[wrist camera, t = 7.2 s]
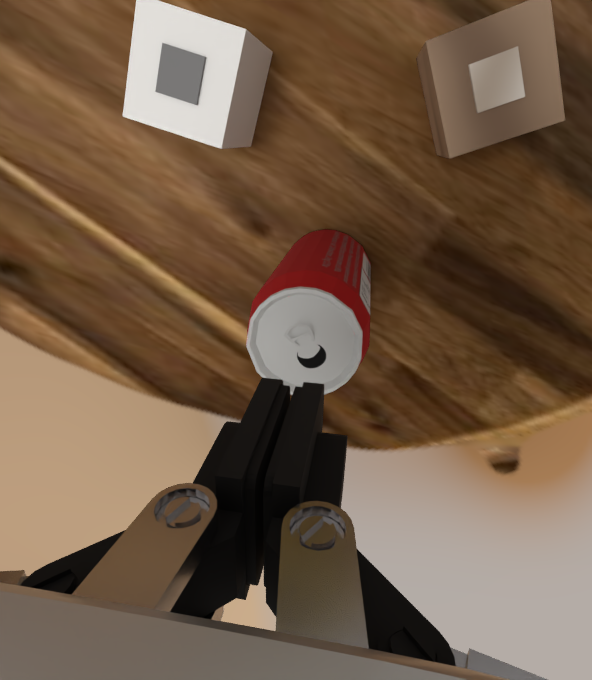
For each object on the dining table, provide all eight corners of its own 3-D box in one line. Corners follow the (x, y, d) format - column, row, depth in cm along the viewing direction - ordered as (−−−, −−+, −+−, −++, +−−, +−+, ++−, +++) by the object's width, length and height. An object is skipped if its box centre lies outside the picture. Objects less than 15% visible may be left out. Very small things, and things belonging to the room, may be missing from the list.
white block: (273, 52, 26) (244, 28, 20) (251, 146, 28) (220, 149, 22) (187, 23, 26) (135, -8, 20) (171, 120, 28) (120, 116, 22)
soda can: (271, 250, 30) (213, 314, 19) (349, 213, 28) (335, 259, 17) (308, 324, 32) (275, 422, 21) (384, 292, 30) (392, 381, 19)
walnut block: (515, 20, 24) (551, -10, 19) (530, 123, 25) (566, 120, 20) (416, 59, 25) (426, 40, 20) (436, 155, 26) (450, 158, 22)
